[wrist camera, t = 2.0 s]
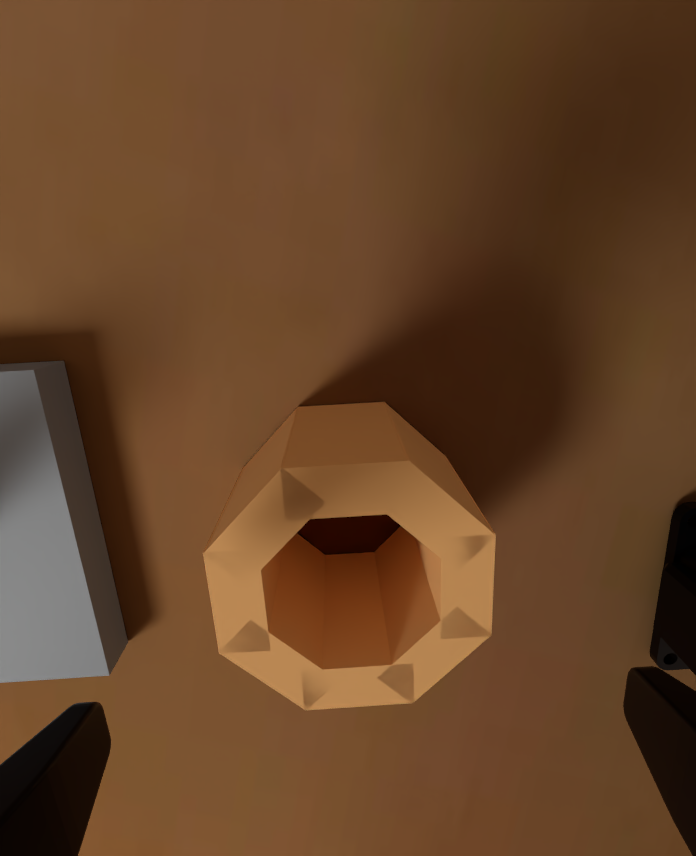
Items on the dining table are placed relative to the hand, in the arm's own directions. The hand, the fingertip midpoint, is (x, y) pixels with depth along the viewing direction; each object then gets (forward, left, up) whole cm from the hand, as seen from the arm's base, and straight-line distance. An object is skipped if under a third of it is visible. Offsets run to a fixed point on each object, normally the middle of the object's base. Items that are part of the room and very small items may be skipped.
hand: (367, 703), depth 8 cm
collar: (0, 0, -8) cm, 8 cm away
